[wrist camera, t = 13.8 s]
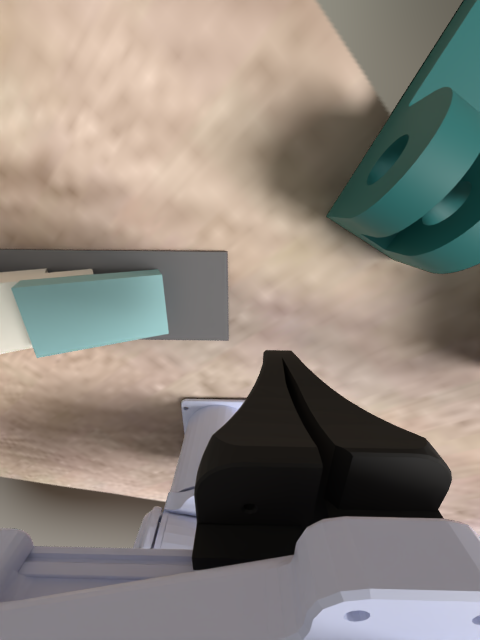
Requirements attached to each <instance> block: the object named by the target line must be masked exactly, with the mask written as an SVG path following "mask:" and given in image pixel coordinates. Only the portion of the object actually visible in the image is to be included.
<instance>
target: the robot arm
mask: <svg viewBox="0 0 480 640" xmlns="http://www.w3.org/2000/svg"><path fill="white" fill-rule="evenodd" d="M186 407H188V408H186ZM181 408H182V417H183V426H184V435H185V436H184V440H183V444H182V448H181V452H180V456H179V459H178V463H177V467H176V471H175V475H174V478H173V482H172V486H171V490H170V492H169V493H168V496H167V500H166V504H165V508H164V511H163V513H162V512H161V511H162V508H161V507H158V506H155V507H154V508H153V510H152V511H150V512H149V513H147V514H146V515H145V516H144V519H143V521H142V524H141V526H140V529H139V532H138V535H137V538H136V541H135V544H134V547H133V548H102V547H58V546H33V542H32V539H31V537H30V536H29V534H27V533H26V532H25V531H23V530H20V529H15V528H0V640H480V537H479V535H478V534H477V533H476V532H475V531H474V530H473V529H472V528H471V527H470V526H469V525H467V524H464V523H462V522H458V521H453V520H447V519H444V518H443V517H442V515H441V514H440V512H439V510H438V508H439V507H440V505H441V503H442V501H443V499H444V497H445V496H446V494H447V492H448V490H449V487H450V484H451V481H452V476H451V471H450V469H449V467H448V466H447V464H446V463H445V462H444V460H443V459H442V458H441V457H440V455H439V454H438V453H437V452H436V450H435V449H434V448H433V447H432V445H431V444H430V443H429V442H428V441H427V440H426V438H424V437H421V436H419V435H417V434H414V433H412V432H409V431H407V430H404V429H402V428H400V427H397V426H395V425H393V424H391V423H389V422H387V421H384V420H382V419H380V418H378V417H376V416H374V415H373V414H371V413H369V412H367V411H365V410H363V409H362V408H360V407H358V406H357V405H355V404H353V403H352V402H350V401H349V400H347V399H345V398H344V397H343V396H341V395H340V394H338V393H337V392H335V391H334V390H333V389H331V388H330V387H329V386H328V385H326V384H325V383H324V382H323V381H322V380H320V379H319V378H318V377H317V376H316V375H315V374H314V373H313V372H312V371H310V370H309V369H308V368H307V367H306V366H305V365H304V364H303V363H302V362H301V360H300V359H299V358H298V357H297V356H296V355H295V354H294V353H293V352H292V351H277V350H266V351H265V352H264V354H263V365H262V368H261V371H260V374H259V376H258V378H257V381H256V383H255V385H254V387H253V389H252V390H251V392H250V394H249V395H248V397H247V398H246V400H226V399H184V400H182V402H181ZM159 522H160V523H159Z"/></svg>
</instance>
